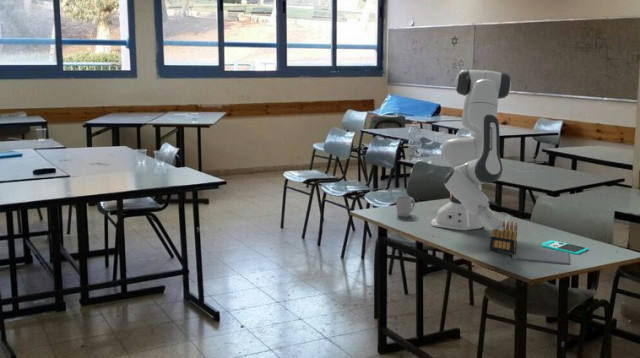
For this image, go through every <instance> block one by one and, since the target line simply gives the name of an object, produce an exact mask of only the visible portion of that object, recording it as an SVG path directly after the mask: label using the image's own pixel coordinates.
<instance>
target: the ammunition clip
mask: <svg viewBox="0 0 640 358" xmlns="http://www.w3.org/2000/svg"><path fill="white" fill-rule="evenodd" d="M499 220H500V221H501V222H502V224H501V225H502V226H503V227H504V229H503V230H502V231H500V230H499V229H498V228H497V229H493V228H492V234H491V236H490V242H489V248H488V249H489V250H490V251H497V252H500V253H501V252H502V253H505V254H512V255H513V254H516V248H517V243H518V240H517V238H518V237H517V236H518V221H516V222H515V224H514V221H513V220H512V221H511V222H510V221H509V220H507V222H506V220H503V221H502V219H499Z"/></svg>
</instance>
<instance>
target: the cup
mask: <svg viewBox="0 0 640 358" xmlns="http://www.w3.org/2000/svg"><path fill="white" fill-rule="evenodd" d="M415 201H416V200H415V199H414V198H413V197H411V196H405V195H401V196H395V203H396V215H397V217H400V218H408V217H410V215H411V212H413V210H414V208H415V206H416V202H415Z"/></svg>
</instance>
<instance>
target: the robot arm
mask: <svg viewBox="0 0 640 358" xmlns="http://www.w3.org/2000/svg"><path fill="white" fill-rule="evenodd" d="M454 87H455V91H456V92H457V94H458V95H461V96H464V97H465V98H464V103H463V108H462V109H463V110H462V115H461V124H462V126H463V128H464V129H466V130H468V131H469V132H470V136H469V137H455V138H454V137H453V138H451V139H446V140H445V141H444V142H443V143H442V145H441V150H440V154H441V156H442V158H443V160H444V161H445V162H447V164H448V165H449V166H450V167H451V168H450V169H448V170H447V172H446V173H445V174H444V176H443V180H442V182H443V184H444V186H445V188H446V189H447V190H448V192H449V193H450V194H449V196H450V197H449V200H450V201H449V202H447V203H446V204H444V205H443V206H441V207H440V208H439V209H438V211H437V213H436V217H434V218H433V219H432V220H431V222H430V223H431V226H432V227H437V228H444V229H451V230H458V231H469V230H476V229H481V228H483V227H484V224H483V219H484V220H485V222H486V223H487V224H489V226H490V227H491V228H492V230H493V229H497V228H498V229H499V230H500V231H502V230H503V229H504V227H503V226H502V224H503V222H502V220H501V219H499V218H498V216H496V214H495V213H494V212H493V211H492V210H491V208H490V203H489V201H490V198H489V197H488V196H487V195H486V194H485V193H484V192H483V191H482V185H483V184H489V183H494V182H497V181H498V180H499V179H500V178H501V176H502V173H503V164H502V163H503V162H502V160H501V156H500V155H501V154H500V123H499V119H498V104H499V103H498V102H499V100H500V99H505V98H507V97H508V96H509V93H510V92H511V89H512V80H511V76H510V75H509V74H508V73H507V72H506V73H505V72H504V71H503V72H502V71H500V72H499V71H494V70H489V69H488V70H487V69H485V70H483V69H482V70H481V69H467V68H466V69H461V70H460V71H458V73H457V75H456V77H455V80H454ZM482 218H483V219H482ZM500 220H501V221H500Z"/></svg>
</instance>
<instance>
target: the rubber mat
mask: <svg viewBox="0 0 640 358" xmlns="http://www.w3.org/2000/svg"><path fill="white" fill-rule="evenodd" d="M511 260H516V261H518V260H519V261H525V262H526V261H527V262H536V263H537V262H538V263H547V264H559V265H571V262H570V255H569V253H568V252H562V251H558V250H545V249H533V248H524V247H516V254H512V258H511Z"/></svg>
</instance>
